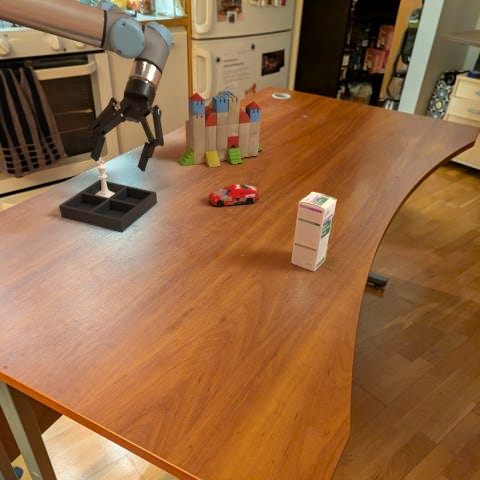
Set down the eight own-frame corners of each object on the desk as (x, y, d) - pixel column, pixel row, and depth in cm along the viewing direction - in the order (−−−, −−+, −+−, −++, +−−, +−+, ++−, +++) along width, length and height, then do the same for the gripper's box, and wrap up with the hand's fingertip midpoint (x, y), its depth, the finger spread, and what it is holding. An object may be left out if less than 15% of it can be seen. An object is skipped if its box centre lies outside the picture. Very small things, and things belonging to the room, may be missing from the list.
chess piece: (94, 194, 116) (88, 155, 110) (114, 192, 118) (109, 153, 111) (97, 203, 113) (90, 163, 106) (117, 200, 114) (112, 161, 108)
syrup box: (314, 272, 96) (326, 208, 86) (289, 263, 98) (298, 199, 89) (325, 260, 100) (338, 198, 90) (301, 251, 102) (311, 190, 92)
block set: (253, 144, 152) (257, 80, 140) (273, 159, 142) (279, 92, 130) (171, 153, 142) (168, 85, 130) (186, 170, 132) (185, 99, 120)
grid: (61, 216, 108) (58, 205, 106) (101, 190, 120) (99, 179, 118) (122, 232, 104) (120, 220, 102) (157, 202, 116) (156, 192, 114)
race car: (210, 208, 115) (210, 193, 113) (206, 199, 119) (206, 184, 117) (260, 204, 119) (261, 189, 116) (254, 195, 123) (255, 180, 120)
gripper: (191, 102, 118) (166, 179, 117) (107, 88, 124) (83, 161, 123) (181, 84, 111) (155, 166, 110) (92, 70, 117) (67, 148, 116)
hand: (117, 164), depth 116 cm, fingers open, 13 cm apart
